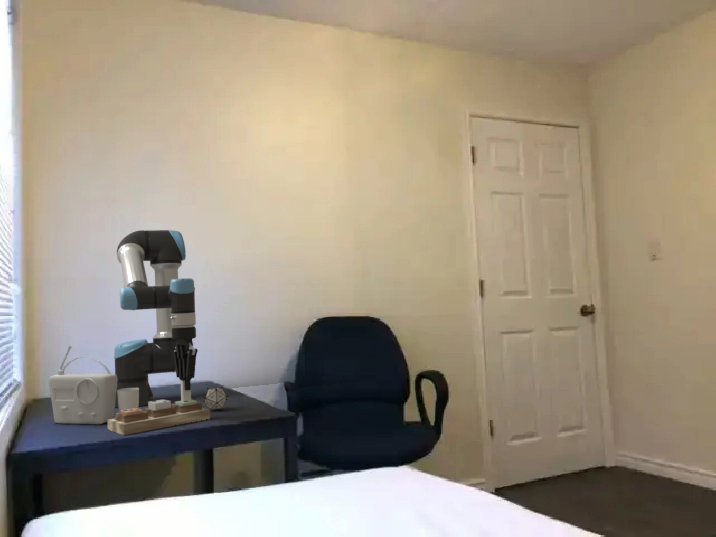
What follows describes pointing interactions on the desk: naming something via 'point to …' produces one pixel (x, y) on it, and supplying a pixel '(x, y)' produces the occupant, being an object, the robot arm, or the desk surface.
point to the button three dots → (131, 411)
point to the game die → (215, 398)
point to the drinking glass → (128, 398)
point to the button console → (157, 418)
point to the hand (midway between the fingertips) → (186, 400)
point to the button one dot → (185, 402)
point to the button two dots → (159, 404)
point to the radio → (83, 396)
